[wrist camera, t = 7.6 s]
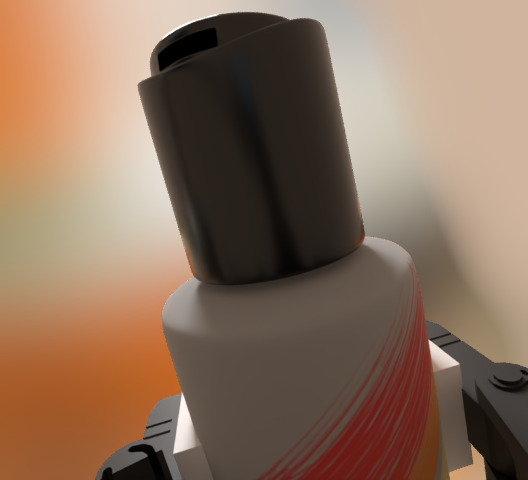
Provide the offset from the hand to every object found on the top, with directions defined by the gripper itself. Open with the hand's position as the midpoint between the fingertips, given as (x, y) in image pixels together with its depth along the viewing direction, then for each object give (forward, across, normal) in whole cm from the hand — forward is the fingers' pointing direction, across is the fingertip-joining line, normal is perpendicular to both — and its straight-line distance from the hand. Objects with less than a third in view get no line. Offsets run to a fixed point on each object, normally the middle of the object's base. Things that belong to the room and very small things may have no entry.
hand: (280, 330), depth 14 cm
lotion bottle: (-5, 0, -11) cm, 12 cm away
